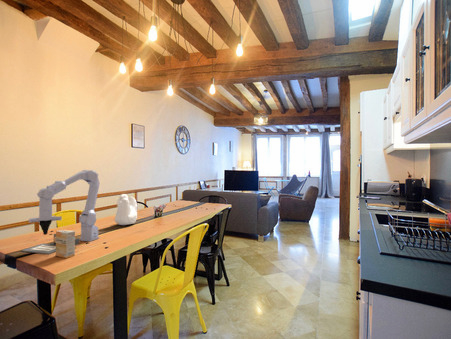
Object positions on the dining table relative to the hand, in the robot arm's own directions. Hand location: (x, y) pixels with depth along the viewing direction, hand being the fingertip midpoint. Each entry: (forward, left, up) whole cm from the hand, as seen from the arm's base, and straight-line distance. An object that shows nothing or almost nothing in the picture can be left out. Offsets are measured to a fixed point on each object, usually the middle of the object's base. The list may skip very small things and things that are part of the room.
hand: (45, 234), depth 134 cm
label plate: (0, 0, -8) cm, 8 cm away
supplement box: (-19, +5, -9) cm, 22 cm away
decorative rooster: (-8, -66, -9) cm, 67 cm away
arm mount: (+2, -9, -8) cm, 12 cm away
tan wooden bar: (-6, -7, -7) cm, 12 cm away
